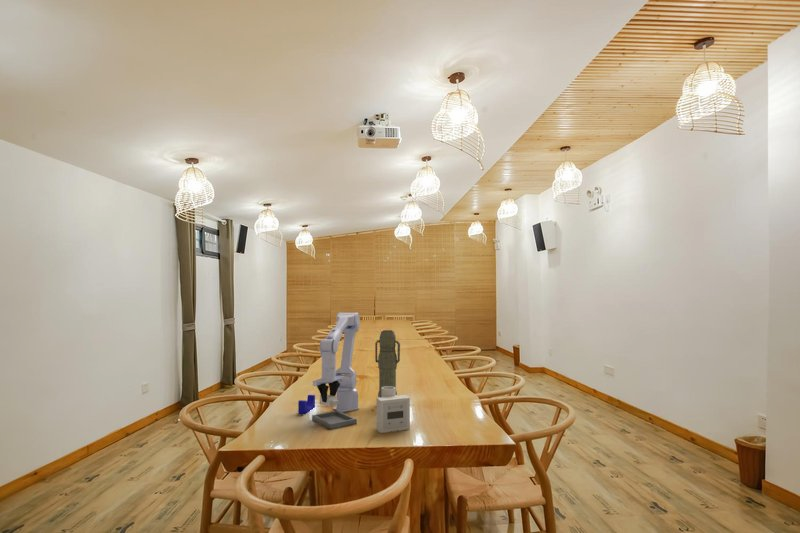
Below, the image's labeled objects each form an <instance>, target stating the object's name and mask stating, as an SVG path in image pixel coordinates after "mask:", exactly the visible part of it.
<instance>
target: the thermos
mask: <svg viewBox="0 0 800 533" xmlns="http://www.w3.org/2000/svg"><path fill="white" fill-rule="evenodd" d="M396 339H397V338H396V334H395V331H393V329H391V330H389V329H386V330H385V329H384V330H382V331H380V334H379V339H377V340H376V342H375V343H374V344H375V345H374V348H375V350H374V352H375V354H374V355H375V356H374V358H375V363H377V365H378V367H377V368H378V374H379V377H378V379H379V381H378V383H379V385H378V387H379V388H378V389H379V390H378V393H377V398H380V397H382V387H385V386H392V387H395V388H396V389H397V367H398V364H399V362H400V360H401V342H399V340H396ZM378 344H379V354H378ZM396 346H397V347H396ZM396 348H397V351H396ZM396 352H397V353H396ZM396 395H398V391H397V390H396Z"/></svg>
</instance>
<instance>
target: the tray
mask: <svg viewBox="0 0 800 533" xmlns="http://www.w3.org/2000/svg"><path fill="white" fill-rule="evenodd" d="M311 420H312V421H313V422H315V423H316V424H319V425H321V426H323V427H324V428H326V429H328V430H336V429H339V428H344V427H349V426H353V425H357V424H358V423H357V422H358V418H355V417H353V416H351V415H349V414H346V413H345V412H340V411H338V410H332V411H327V412H322V413H317V414H312V415H311Z"/></svg>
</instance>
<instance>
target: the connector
mask: <svg viewBox="0 0 800 533" xmlns="http://www.w3.org/2000/svg"><path fill="white" fill-rule="evenodd" d="M319 404H320V405H322V406H325V407H328V408H330V407H336V406H337V404H339V400H337V395H336V396H332V395H330V394H328V393H327V402H322V398H321V394H319Z"/></svg>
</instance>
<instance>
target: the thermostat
mask: <svg viewBox="0 0 800 533" xmlns="http://www.w3.org/2000/svg"><path fill="white" fill-rule="evenodd" d="M396 391H397V387H396V388H395V387H392V386H385V387H382V397H380V398H378V397H376V430H377V431H378V432H379V433H381V434H382V433H383V434H384V433H389V432H391V431H392V432H397V430H399V431H406V430H405V429H407V430H410V429H411V425H410V424H411V420H410V418H411V412H410V411H411V410H410V408H411V404H410V403H411V402H410V401H411V398H410V396H408V395H406V394H401V395H398V394H397V395H396Z"/></svg>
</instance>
